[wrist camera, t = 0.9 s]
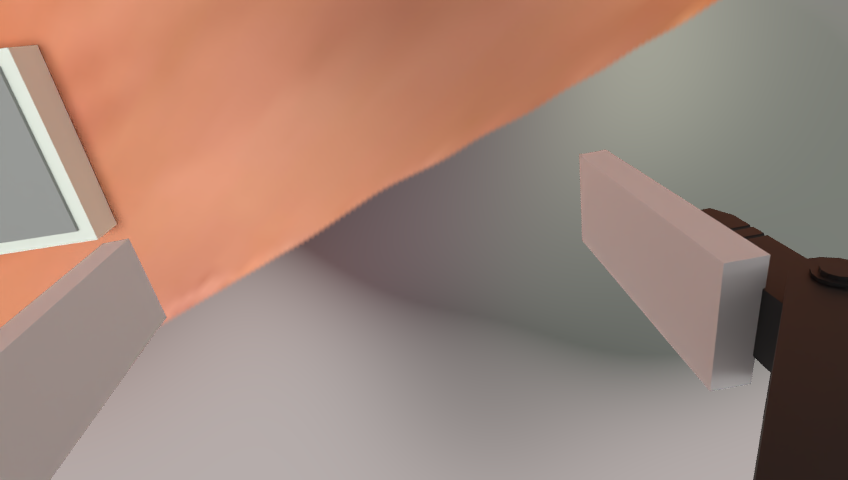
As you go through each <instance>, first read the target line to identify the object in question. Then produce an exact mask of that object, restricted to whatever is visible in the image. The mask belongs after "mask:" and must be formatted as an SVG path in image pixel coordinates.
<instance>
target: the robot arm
mask: <svg viewBox="0 0 848 480" xmlns="http://www.w3.org/2000/svg"><path fill="white" fill-rule="evenodd" d="M579 162H580V189H581V190H580V191H581V219H582V241H583V242H584V243H585V244H586V245H587V247H588V248H589V249H590V250H591V251H592V253H593V254H594V255H595V256H596V257H597V258H598V259H599V261H600V262H601V263H602V264H603V265H604V267H605V268H606V269H607V270H608V271H609V273H610V274H611V275H612V276H613V277H614V279H615V280H616V281H617V282H618V283H619V284H620V285H621V287H622V288H623V289H624V290H625V292H626V293H627V294H628V295H629V296H630V297H631V299H632V300H633V301H634V302H635V303H636V304H637V306H638V307H639V308H640V309H641V310H642V312H643V313H644V314H645V315H646V316H647V317H648V319H649V320H650V321H651V322H652V323H653V325H654V326H655V327H656V328H657V329H658V330H659V332H660V333H661V334H662V335H663V336H664V338H665V339H666V340H667V341H668V342H669V343H670V345H671V346H672V347H673V348H674V349H675V350H676V352H677V353H678V354H679V355H680V356H681V358H682V359H683V360H684V361H685V362H686V364H687V365H688V366H689V367H690V368H691V369H692V371H693V372H694V373H695V374H696V375H697V377H698V378H699V379H700V380H701V381H702V382H703V384H704V385H705V386H706V387H707V388H708V390H709V391H715V390H721V389H726V388H732V387H737V386H743V385H748V384H751V379H752V372H753V366H754V360H755V358H756V359H757V360H758V361H759V362H760V363H761V364H762V365H763V366H764V367H765V368H766V369H767V370H768V371H770V372H771V375H770V381H769V386H768V392H767V398H766V404H765V410H764V416H763V423H762V429H761V436H760V442H759V448H758V454H757V460H756V467H755V473H754V479H753V480H848V260H846V259H841V258H827V257H826V258H825V257H818V258H809V259H807V258H805V257H803V256H801V255H800V254H798V253H796V252H795V251H793V250H791V249H790V248H788V247H786V246H785V245H783V244H781V243H780V242H778V241H776V240H774V239H773V238H771V237H769V236H768V235H767V236H764V233H762V232H761V231H759V230H758V229H756V228H754V227H750V225H749V224H747V223H746V222H744V221H742V220H741V219H739V218H737V217H736V216H734V215H731V214H728V213H725V212H721V211H718V210H714V209H711V208H708V209H703V210H699V209H698V208H696V207H695V206H693V205H692V204H690V203H689V202H687V201H686V200H684V199H682V198H681V197H679V196H678V195H676V194H674V193H673V192H671V191H670V190H668V189H667V188H665V187H664V186H662V185H660V184H659V183H657V182H656V181H654V180H653V179H651V178H649V177H648V176H646V175H645V174H643V173H642V172H640V171H638V170H637V169H635V168H634V167H632V166H631V165H629V164H627V163H626V162H624V161H623V160H621V159H620V158H618V157H617V156H615V155H613V154H612V153H610V152H609V151H607V150H602V151H596V152H590V153H585V154H580V155H579ZM165 319H166V315H165V313H164V311H163V309H162V307H161V305H160V302H159V300H158V298H157V296H156V294H155V292H154V290H153V288H152V286H151V284H150V282H149V280H148V277H147V275H146V273H145V271H144V269H143V267H142V265H141V263H140V261H139V259H138V257H137V255H136V253H135V250H134V248H133V246H132V244H131V242H130V240H129V239H124V240H119V241H114V242H108V243H103V244H102V245H100V246H99V247H98V248H97V249H96V250H94V251H93V252H92V253H91V254H90V255H88V256H87V257H86V258H85V259H83V260H82V261H81V262H80V263H79V264H77V265H76V266H75V267H74V268H73V269H71V270H70V271H69V272H68V273H66V274H65V275H64V276H63V277H62V278H60V279H59V280H58V281H57V282H56V283H54V284H53V285H52V286H51V287H49V288H48V289H47V290H46V291H45V292H43V293H42V294H41V295H40V296H39V297H37V298H36V299H35V300H34V301H32V302H31V303H30V304H29V305H28V306H26V307H25V308H24V309H23V310H22V311H20V312H19V313H18V314H17V315H15V316H14V317H13V318H12V319H11V320H9V321H8V322H7V323H6V324H5V325H3V326H2V327H1V328H0V480H51V478H52V477H53V475H54V474H55V472H56V471H57V470H58V468H59V467H60V466H61V464H62V463H63V461H64V460H65V459H66V457H67V456H68V454H69V453H70V451H71V450H72V449H73V447H74V446H75V444H76V443H77V442H78V440H79V439H80V438H81V436H82V435H83V433H84V432H85V431H86V429H87V428H88V426H89V425H90V424H91V422H92V421H93V419H94V418H95V417H96V415H97V414H98V412H99V411H100V410H101V408H102V407H103V406H104V404H105V403H106V401H107V400H108V399H109V397H110V396H111V394H112V393H113V392H114V390H115V389H116V387H117V386H118V385H119V383H120V382H121V380H122V379H123V378H124V376H125V375H126V373H127V372H128V371H129V369H130V368H131V366H132V365H133V364H134V362H135V361H136V359H137V358H138V357H139V355H140V354H141V352H142V351H143V350H144V348H145V347H146V345H147V344H148V342H149V341H150V340H151V338H152V337H153V336H154V334H155V333H156V331H157V330H158V329H159V327H160V326H161V324H162V323H163V322H164V320H165Z"/></svg>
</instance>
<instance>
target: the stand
mask: <svg viewBox="0 0 848 480" xmlns="http://www.w3.org/2000/svg"><path fill="white" fill-rule="evenodd" d="M116 225H117V223H116V221H115V219H114V216H113V214H112V212H111V210H110V207H109V205H108V203H107V201H106V198H105V196H104V194H103V192H102V189H101V187H100V185H99V183H98V180H97V178H96V176H95V174H94V171H93V169H92V167H91V165H90V162H89V160H88V158H87V156H86V153H85V151H84V149H83V146H82V144H81V142H80V140H79V137H78V135H77V133H76V131H75V128H74V126H73V124H72V122H71V119H70V117H69V115H68V113H67V110H66V108H65V106H64V104H63V101H62V99H61V97H60V95H59V92H58V90H57V88H56V86H55V83H54V81H53V79H52V77H51V74H50V72H49V70H48V68H47V65H46V63H45V61H44V59H43V56H42V54H41V52H40V50H39V47H38V45H30V46H20V47H9V48H2V49H0V255H1V254H7V253H14V252H20V251H27V250H33V249H40V248H46V247H53V246H59V245H66V244H72V243H79V242H85V241H92V240H98V239H99V238H100V237H102V236H103V235H104V234H105V233H107V232H108V231H109V230H111V229H112V228H113V227H114V226H116Z"/></svg>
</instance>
